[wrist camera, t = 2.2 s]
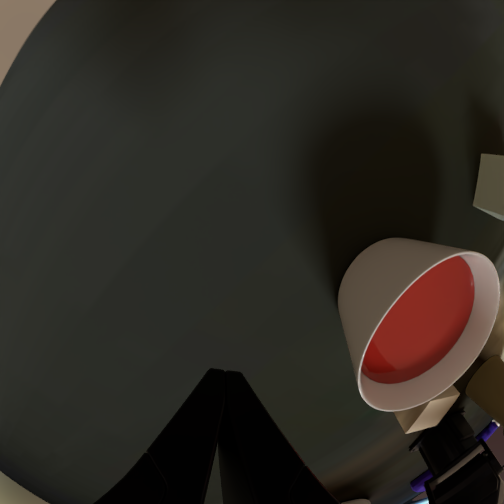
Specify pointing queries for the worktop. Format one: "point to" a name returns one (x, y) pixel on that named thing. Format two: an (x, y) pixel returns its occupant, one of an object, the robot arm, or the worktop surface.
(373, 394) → the candle
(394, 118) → the worktop surface
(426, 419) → the birch block
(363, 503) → the supplement tub
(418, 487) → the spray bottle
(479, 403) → the cork
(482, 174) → the sage block
